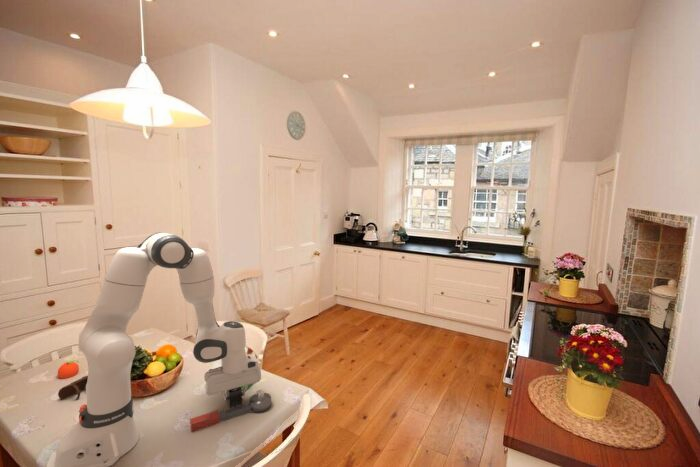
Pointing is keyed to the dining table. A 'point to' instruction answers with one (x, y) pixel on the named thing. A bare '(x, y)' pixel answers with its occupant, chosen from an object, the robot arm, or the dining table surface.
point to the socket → (234, 397)
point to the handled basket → (73, 388)
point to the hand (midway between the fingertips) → (234, 397)
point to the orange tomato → (68, 370)
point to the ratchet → (233, 411)
